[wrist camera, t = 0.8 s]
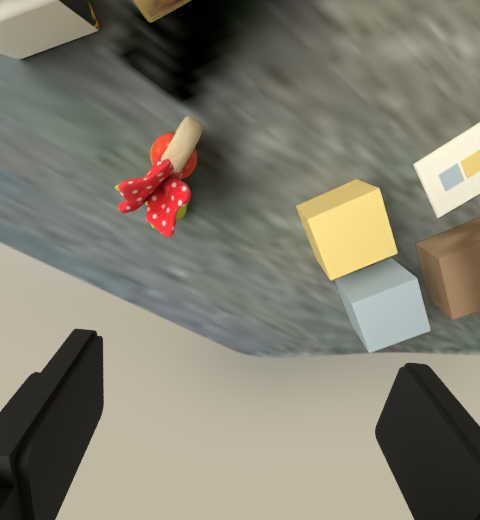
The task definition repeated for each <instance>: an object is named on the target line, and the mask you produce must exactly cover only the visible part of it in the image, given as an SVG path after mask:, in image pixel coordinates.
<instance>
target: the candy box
mask: <svg viewBox="0 0 480 520" xmlns="http://www.w3.org/2000/svg"><path fill="white" fill-rule="evenodd" d="M189 1H191V0H133V2H134V3H135V4H136V6H137V7H138V9H139V10H140V11H141V13H142V14H143V15H144V17H145V18H146V19H147V21H148V22H150V23H151V22H153V21H155V20H157V19H159V18H161V17H163V16H164V15H166V14H168V13H170V12H172V11H174V10H175V9H177V8H179V7H181V6H182V5H184V4H186V3H188V2H189Z"/></svg>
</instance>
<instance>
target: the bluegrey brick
mask: <svg viewBox="0 0 480 520" xmlns="http://www.w3.org/2000/svg"><path fill="white" fill-rule="evenodd" d="M335 281H336V284H337V287H338V289H339V292H340V295H341V298H342V300H343V303H344V306H345V308H346V311H347V314H348V317H349V319H350V322H351V325H352V326H353V328H354V330H355V331H356V333H357V334H358V336H359V338H360V339H361V341H362V342H363V344H364V346H365V347H366V349H367V350H368V352H369V353H371V352H374V351H377V350H379V349H382V348H385V347H388V346H390V345H393V344H396V343H399V342H401V341H404V340H407V339H409V338H412V337H415V336H418V335H420V334H423V333H426V332H429V331H431V330H430V326H429V322H428V318H427V314H426V310H425V307H424V303H423V299H422V295H421V291H420V287H419V283H418V280H417V278H416V277H415V276H414V275H413V274H411V273H410V272H409V271H407V270H406V269H405V268H404V267H402V266H401V265H400V264H399V263H397V262H396V261H395V260H394V259H392V258H389V259H387V260H384V261H382V262H379V263H377V264H374V265H372V266H369V267H367V268H364V269H362V270H359V271H357V272H354V273H352V274H349V275H347V276H344V277H342V278H339V279H337V280H335Z"/></svg>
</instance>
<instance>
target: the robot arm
mask: <svg viewBox="0 0 480 520" xmlns="http://www.w3.org/2000/svg"><path fill="white" fill-rule="evenodd" d="M103 398H104V396H103V338H102V336H97V332H96V331H93V330H84V329H74V330H73V331H72V333H71V334H70V335H69V337H68V338H67V339H66V340H65V342H64V343H63V345H62V346H61V347H60V349H59V350H58V351H57V352H56V353H55V355H54V356H53V358H52V359H51V360H50V361H49V363H48V364H47V365H46V367H45V368H44V369H43V370H42V372H41V373H38V372H35V373H33V374H31V375H30V376H29V377H28V378H27V380H26V381H25V382H24V383H23V384H22V386H21V387H20V388H19V389H18V391H17V392H16V393H15V394H14V395H13V397H12V398H11V399H10V400H9V402H8V403H7V405H5V407H4V408H3V409H2V411H1V412H0V520H55V519H56V517H57V514H58V512H59V510H60V508H61V505H62V503H63V501H64V499H65V496H66V494H67V492H68V490H69V487H70V485H71V483H72V481H73V478H74V476H75V474H76V472H77V469H78V467H79V465H80V463H81V460H82V458H83V456H84V453H85V451H86V449H87V447H88V445H89V442H90V440H91V438H92V436H93V433H94V431H95V429H96V427H97V424H98V422H99V420H100V417H101V415H102V411H103V405H104V403H103V402H104V400H103ZM375 435H376V439H377V441H378V443H379V445H380V448H381V450H382V452H383V454H384V456H385V458H386V460H387V463H388V465H389V467H390V469H391V471H392V473H393V475H394V477H395V479H396V482H397V484H398V486H399V488H400V490H401V492H402V494H403V496H404V499H405V501H406V503H407V505H408V507H409V509H410V511H411V513H412V515H413V518H414V520H480V426H479V425H478V424H477V423H476V422H475V420H474V419H473V418H472V417H471V416H470V414H469V413H468V412H467V411H466V410H465V408H464V407H463V406H462V405H461V404H460V402H459V401H458V400H457V399H456V398H455V396H454V395H453V394H452V393H451V392H450V391H449V389H448V388H447V387H446V386H445V385H444V383H443V382H442V381H441V380H440V379H439V377H438V376H437V375H436V374H435V373H434V372H433V370H432V369H431V368H430V367H429V366H428V365H425V364H417V363H406V364H405V366H404V367H401V368H400V369H399V371H398V374H397V376H396V378H395V381H394V383H393V386H392V388H391V391H390V393H389V396H388V398H387V401H386V403H385V406H384V408H383V411H382V413H381V415H380V418H379V420H378V423H377V425H376V429H375Z"/></svg>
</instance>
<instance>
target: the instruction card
mask: <svg viewBox="0 0 480 520" xmlns="http://www.w3.org/2000/svg"><path fill="white" fill-rule="evenodd" d="M413 166H414V168H415V170H416V172H417V175H418V177H419V179H420V181H421V183H422V186H423V188H424V190H425V192H426V195H427V197H428V199H429V201H430V203H431V206H432V208H433V210H434V212H435V214H436V217H437V218H439V217H441V216H443V215H444V214H446V213H448V212H449V211H451V210H453V209H454V208H456V207H458V206H460V205H461V204H463V203H465V202H466V201H468V200H470V199H471V198H473V197H475V196H477V195H478V194H480V122H479V123H478V124H476V125H475V126H473V127H472V128H470V129H468V130H467V131H465V132H464V133H462V134H460V135H459V136H457V137H456V138H454V139H452V140H451V141H449V142H448V143H446V144H445V145H443V146H441V147H440V148H438V149H437V150H435V151H433V152H432V153H430V154H429V155H427V156H425V157H424V158H422V159H421V160H419V161H418V162H416V163H414V164H413Z"/></svg>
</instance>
